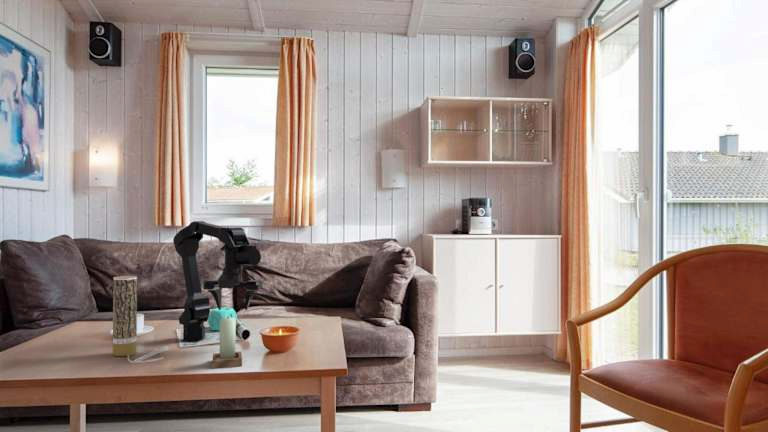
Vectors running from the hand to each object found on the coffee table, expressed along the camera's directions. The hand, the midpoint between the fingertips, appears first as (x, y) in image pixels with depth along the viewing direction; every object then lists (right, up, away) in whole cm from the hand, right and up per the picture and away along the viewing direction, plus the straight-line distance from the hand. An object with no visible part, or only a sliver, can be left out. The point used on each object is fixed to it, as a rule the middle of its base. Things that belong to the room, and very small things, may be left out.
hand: (233, 309), depth 169 cm
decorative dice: (-13, -13, +29) cm, 34 cm away
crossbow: (-23, -14, -10) cm, 29 cm away
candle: (+4, -12, -18) cm, 22 cm away
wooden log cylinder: (-32, -13, -9) cm, 36 cm away
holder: (+4, -13, -18) cm, 22 cm away
